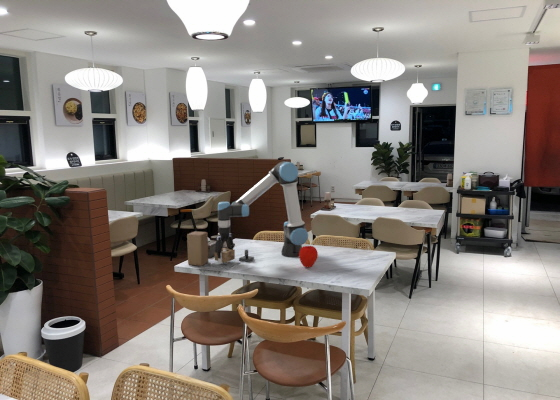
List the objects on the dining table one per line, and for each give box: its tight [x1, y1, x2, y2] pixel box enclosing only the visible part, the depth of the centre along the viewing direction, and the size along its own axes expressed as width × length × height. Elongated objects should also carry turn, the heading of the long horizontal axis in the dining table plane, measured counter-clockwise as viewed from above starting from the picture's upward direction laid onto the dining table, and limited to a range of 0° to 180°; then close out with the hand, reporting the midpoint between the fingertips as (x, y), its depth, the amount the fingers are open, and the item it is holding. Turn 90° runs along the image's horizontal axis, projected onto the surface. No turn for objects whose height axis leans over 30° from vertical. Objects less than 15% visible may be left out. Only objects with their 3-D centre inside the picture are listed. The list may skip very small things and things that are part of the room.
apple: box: [299, 245, 319, 268], centre depth 276 cm, size 12×12×13 cm
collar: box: [214, 247, 236, 262], centre depth 283 cm, size 9×9×6 cm
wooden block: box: [186, 230, 209, 267], centre depth 285 cm, size 10×10×20 cm
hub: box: [209, 250, 241, 269], centre depth 283 cm, size 14×14×10 cm
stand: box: [238, 249, 255, 263], centre depth 292 cm, size 7×7×7 cm
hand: (224, 261), depth 284 cm, fingers closed on collar, 9 cm apart
